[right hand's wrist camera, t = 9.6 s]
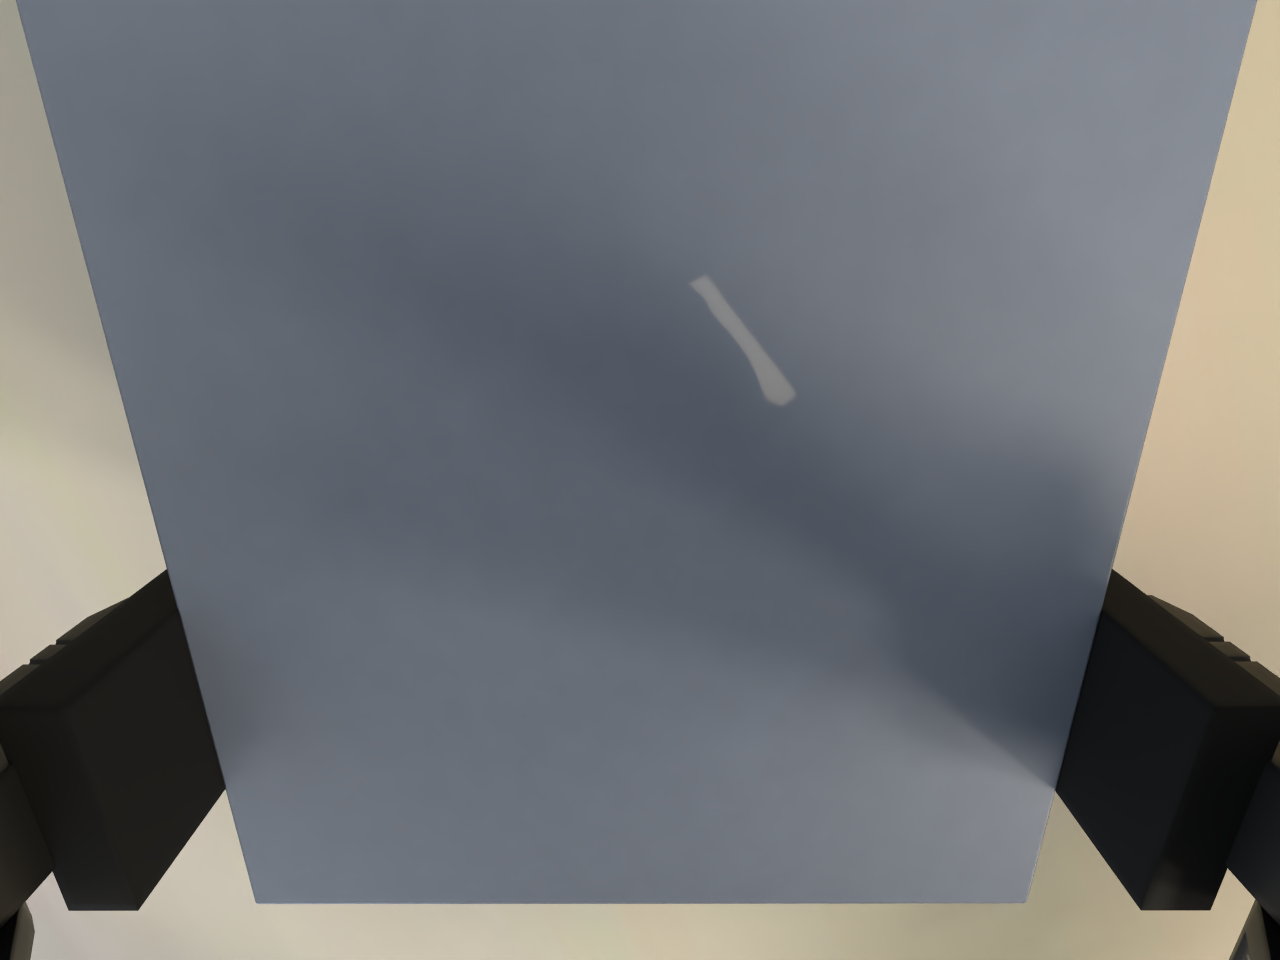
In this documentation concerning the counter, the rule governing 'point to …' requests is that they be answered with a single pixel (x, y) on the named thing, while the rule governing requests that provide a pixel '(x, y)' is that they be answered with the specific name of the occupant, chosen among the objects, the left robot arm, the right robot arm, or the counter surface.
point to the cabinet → (638, 416)
